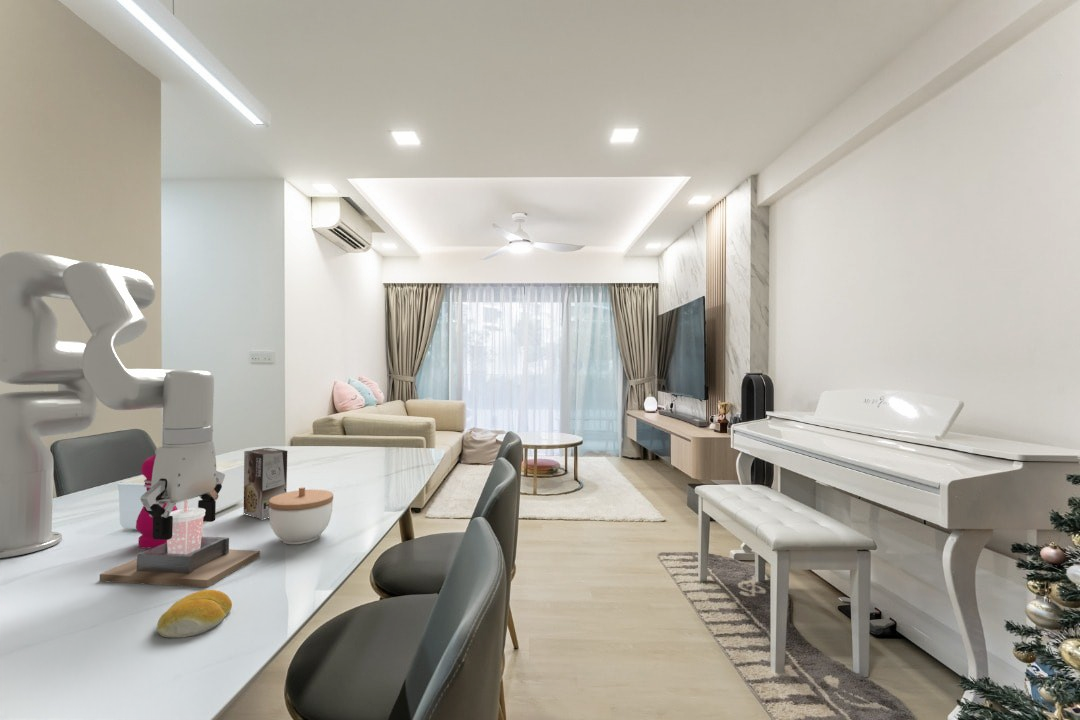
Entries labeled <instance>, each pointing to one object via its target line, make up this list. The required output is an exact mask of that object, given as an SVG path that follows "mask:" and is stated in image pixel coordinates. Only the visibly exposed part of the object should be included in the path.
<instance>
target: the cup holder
mask: <svg viewBox="0 0 1080 720" xmlns="http://www.w3.org/2000/svg"><path fill="white" fill-rule="evenodd" d="M260 556H261V554H260V550H251V549H247V550H246V549H230V538H229V537H222V536H220V537H219V536H202V537H201V547H200V549H198V550H195V551H193V552H191V553H189V554H171V553H168V549H167V542H166V543H164V544H162V545H159V546H157V547H154V548H149V549H148V550H145V551H140V552H138V553H136V558H135V559H131V560H130V561H127V562H125V563H123V564H120V565H118V566H115V567H113V568H111V569H108V570H106V571H104V572H101V573H100V574H99V580H98V581H99V582H105V581H110V582H109V583H123V582H129V584H141V583H147V584H146V585H158V586H159V585H162V586H164V585H165V586H176V585H183V586H182V587H194V586H199V587H200V588H209V587H210V586H212V585H214V584H216V583H217V582H219V581H221V580H222V578H223V579H224V578H226V577H227V575H228V576H229V575H231V574H232V572H233V573H234V571H235V572H236V571H238V570H240V569H241V567H242V566H243V567H245V566H247V565H248V564H251V563H252V562H254V561H255V560H257V559H259V558H260ZM253 560H254V561H253ZM246 564H247V565H246ZM244 565H245V566H244ZM243 567H242V568H243ZM239 568H240V569H239ZM237 569H238V570H237ZM225 576H226V577H225ZM199 587H198V588H199Z"/></svg>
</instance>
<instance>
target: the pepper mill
mask: <svg viewBox="0 0 1080 720" xmlns="http://www.w3.org/2000/svg"><path fill="white" fill-rule="evenodd" d="M157 450H158V447H157V448H156V449H155V450H154V454H155V455H153V456H150V457H148V458H146V459H145V460H144V461H143V462H142V465H141V469H140V470H141V472H140V473H141V474H142V475H143V476H144V477H145V479H144V480H143V482H144V484H143V487H144V488H146V492H147V491H148V490H149V489H150V488H151V482H152V473H153V466H154V461H155V457H156V453H157ZM166 505H167V504H164V505H163V507H162V508H163V509H164V508H165V506H166ZM176 505H177V504H176ZM176 505H175V506H174V508H173V510H172V511H175V510H179V509H178V507H177V506H176ZM144 508H145V507H144V505H142V508H141V510H140V512H139V514H138V516H137V518H136V521H135V523H136V524H135V529H136V531H137V532H138V533H140V534H141V535H140V536H139V537H138V543H137V544H138V547H139V548H141V549H152V548H154V547H157V546H159V545H162V544H164V543H166V542H167V540H159V539H153V517H150V516H149V513H148V512H147V511H145V509H144ZM172 511H171V512H172Z"/></svg>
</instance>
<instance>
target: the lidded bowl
mask: <svg viewBox="0 0 1080 720" xmlns="http://www.w3.org/2000/svg"><path fill="white" fill-rule="evenodd" d="M333 501H334V493H333V492H331V491H330V490H326V489H325V490H324V489H306V487H305V486H301V487H299V488H298V490H294V491H286V493H282V494H279V495H276V496H274V497H272V498H270V500H269V518H268V519H269V524H270V527H271V530H272V532H273V533H274V535H275V536H276V537H277V538H279V540H281V542H282V543H283V544H286V545H294V546H295V545H302V544H303V545H304V544H308V543H310V542H315V541H316V540H318V539H319V538H320V536H321V534H322V533H323V532H324V531H325V530H326V528H327V527H328V526H329V524H330V522H331V517H332V513H333Z"/></svg>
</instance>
